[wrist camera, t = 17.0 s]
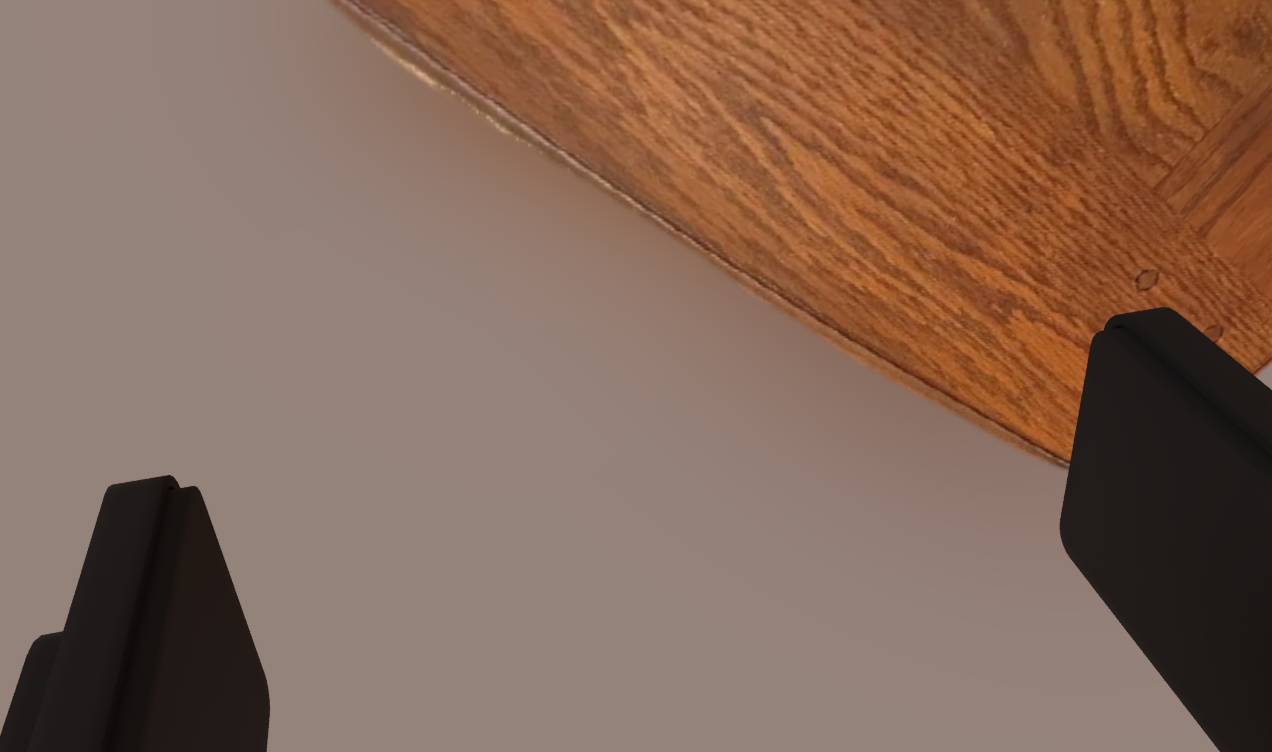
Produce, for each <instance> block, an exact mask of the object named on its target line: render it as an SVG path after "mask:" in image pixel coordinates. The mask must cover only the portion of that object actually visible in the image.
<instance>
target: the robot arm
mask: <svg viewBox="0 0 1272 752" xmlns="http://www.w3.org/2000/svg"><path fill="white" fill-rule="evenodd" d="M1060 535H1061V539H1062V543H1063V546H1064V548H1065V550H1066V552H1067V554H1068V555H1069V557H1070V558H1071V560H1072V561H1073V562H1074V563H1075V565H1076V566H1077V567H1078V569H1079V570H1080V571H1081V572H1082V574H1083V575H1084V576H1085V578H1086V579H1087V580H1088V581H1089V583H1090V584H1091V586H1092V587H1093V588H1094V589H1095V591H1096V592H1097V593H1098V594H1099V596H1100V597H1101V598H1102V600H1103V601H1104V602H1105V604H1106V605H1107V606H1108V607H1109V609H1110V610H1111V611H1112V613H1113V614H1114V615H1115V617H1116V618H1117V619H1118V620H1119V622H1120V623H1121V624H1122V626H1123V627H1124V628H1125V629H1126V631H1127V632H1128V633H1129V635H1130V636H1131V637H1132V638H1133V640H1134V641H1135V642H1136V644H1137V645H1138V646H1139V648H1140V649H1141V650H1142V651H1143V653H1144V654H1145V655H1146V657H1147V658H1148V659H1149V660H1150V662H1151V663H1152V664H1153V666H1154V667H1155V668H1156V670H1157V671H1158V672H1159V673H1160V675H1161V676H1162V677H1163V679H1164V680H1165V681H1166V683H1167V684H1168V685H1169V686H1170V688H1171V689H1172V690H1173V692H1174V693H1175V694H1176V695H1177V697H1178V698H1179V699H1180V701H1181V702H1182V703H1183V705H1184V706H1185V707H1186V708H1187V710H1188V711H1189V712H1190V714H1191V715H1192V716H1193V717H1194V719H1195V720H1196V721H1197V723H1198V724H1199V725H1200V726H1201V728H1202V729H1203V730H1204V732H1205V733H1206V734H1207V735H1208V737H1209V738H1210V739H1211V741H1212V742H1213V743H1214V745H1215V746H1216V747H1217V748H1218V750H1219V751H1220V752H1272V390H1271V389H1270V388H1269V387H1267V386H1266V385H1265V384H1263V383H1262V382H1261V381H1260V380H1259V379H1258V378H1256V377H1255V376H1254V375H1253V374H1251V373H1250V372H1249V371H1248V370H1247V369H1245V368H1244V367H1243V366H1242V365H1241V364H1239V363H1238V362H1237V361H1236V360H1234V359H1233V358H1232V357H1231V356H1230V355H1228V354H1227V353H1226V352H1225V351H1223V350H1222V349H1221V348H1220V347H1219V346H1217V345H1216V344H1215V343H1214V342H1213V341H1211V340H1210V339H1209V338H1208V337H1206V336H1205V335H1204V334H1203V333H1202V332H1200V331H1199V330H1198V329H1197V328H1196V327H1194V326H1193V325H1192V324H1191V323H1189V322H1188V321H1187V320H1186V319H1185V318H1183V317H1182V316H1181V315H1180V314H1178V313H1177V312H1176V311H1174V310H1172V309H1170V308H1165V307H1160V308H1155V309H1149V310H1143V311H1137V312H1131V313H1125V314H1119V315H1115V316H1113V317H1112V318H1110V319H1109V321H1108V322H1107V323H1106V325H1105V328H1104V331H1100V332H1098V333H1096V334H1095V336H1094V337H1093V339H1092V343H1091V346H1090V352H1089V358H1088V363H1087V369H1086V375H1085V381H1084V386H1083V392H1082V398H1081V403H1080V409H1079V415H1078V421H1077V426H1076V432H1075V438H1074V444H1073V449H1072V455H1071V461H1070V467H1069V472H1068V478H1067V484H1066V490H1065V495H1064V501H1063V507H1062V512H1061V518H1060ZM269 717H270V700H269V692H268V685H267V680H266V677H265V673H264V670H263V668H262V665H261V662H260V659H259V656H258V653H257V651H256V648H255V645H254V642H253V639H252V636H251V633H250V631H249V628H248V625H247V622H246V619H245V616H244V614H243V611H242V608H241V605H240V602H239V599H238V597H237V594H236V591H235V588H234V585H233V582H232V579H231V577H230V574H229V571H228V568H227V565H226V562H225V560H224V557H223V554H222V551H221V548H220V545H219V543H218V539H217V537H216V534H215V531H214V528H213V525H212V523H211V520H210V517H209V514H208V511H207V508H206V505H205V503H204V500H203V497H202V495H201V492H200V491H199V489H198V488H197V487H195V486H190V487H185V488H180V486H179V484H178V482H177V481H176V479H175V478H174V477H173V476H171V475H167V476H161V477H155V478H149V479H143V480H137V481H131V482H126V483H119V484H114V485H111V486H109V487H108V489H107V491H106V493H105V495H104V499H103V502H102V505H101V509H100V512H99V515H98V518H97V522H96V525H95V528H94V531H93V535H92V538H91V541H90V545H89V548H88V551H87V555H86V558H85V561H84V565H83V568H82V571H81V575H80V578H79V581H78V585H77V588H76V591H75V595H74V598H73V601H72V604H71V607H70V611H69V614H68V618H67V621H66V624H65V627H64V631H62V632H57V633H51V634H46V635H41V636H40V637H39V638H38V639H36V640H35V641H34V642H33V644H32V646H31V648H30V650H29V652H28V654H27V657H26V659H25V662H24V665H23V668H22V671H21V675H20V678H19V681H18V684H17V687H16V690H15V693H14V696H13V699H12V702H11V705H10V708H9V711H8V714H7V717H6V720H5V723H4V726H3V729H2V732H1V735H0V752H266V751H267V740H268V728H269Z"/></svg>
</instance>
